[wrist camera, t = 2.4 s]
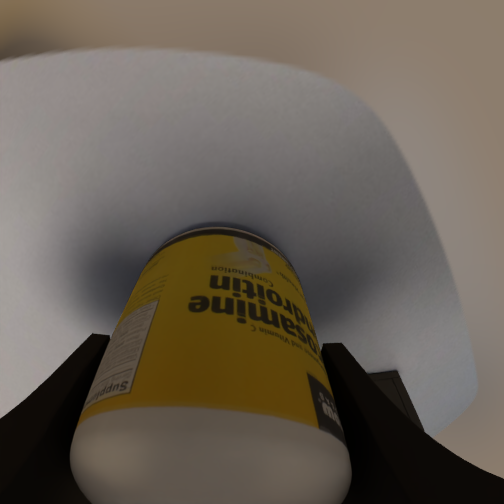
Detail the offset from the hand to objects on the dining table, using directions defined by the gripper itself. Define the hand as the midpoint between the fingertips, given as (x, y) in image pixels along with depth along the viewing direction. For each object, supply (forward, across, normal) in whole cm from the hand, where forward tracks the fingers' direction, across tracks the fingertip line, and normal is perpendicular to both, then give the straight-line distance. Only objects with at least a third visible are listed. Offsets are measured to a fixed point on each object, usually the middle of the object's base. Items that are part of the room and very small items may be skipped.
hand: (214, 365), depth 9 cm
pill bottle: (+4, 0, 0) cm, 4 cm away
